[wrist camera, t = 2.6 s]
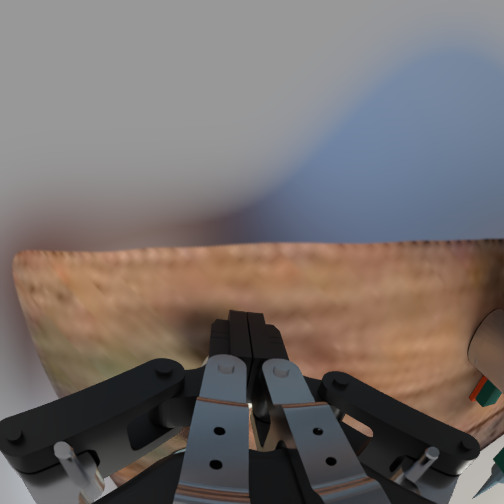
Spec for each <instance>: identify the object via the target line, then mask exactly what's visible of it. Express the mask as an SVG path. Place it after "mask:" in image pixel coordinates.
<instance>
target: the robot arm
mask: <svg viewBox="0 0 504 504" xmlns="http://www.w3.org/2000/svg"><path fill="white" fill-rule="evenodd" d="M468 360H469V361H470V363H471V364H473V365H474V366H475V367H476V368H477V369H478V370H479V371H480V372H481V373H482V374H483V375H484V376H485V377H486V378H487V379H488V380H490V381H491V382H492V383H493V384H494V385H495V386H496V387H497V388H498V389H499V390H500V391H501V392H502V393H503V394H504V310H502V309H496V310H494V311H493V312H491V313H490V314H489V315H488V316H487V317H486V318H485V319H484V321H483V322H482V323H481V325H480V326H479V328H478V329H477V331H476V333H475V335H474V337H473V339H472V341H471V344H470V347H469V351H468ZM247 403H251V404H252V411H251V415H250V420H251V425H252V429H253V434H254V438H255V443H256V447H257V451H256V450H251V449H249V405H248V404H247ZM345 414H347V415H349V416H351V417H353V418H354V419H356V420H358V421H359V422H361V423H363V424H365V425H366V426H368V427H370V428H371V429H372V431H373V437H368V436H366V435H364V434H362V433H361V432H359V431H357V430H356V429H354V428H352V427H351V426H349V425H347V424H346V423H344V422H342V420H343V418H344V416H345ZM185 426H191V427H190V431H189V436H188V441H187V445H186V450H185V451H184V452H179V453H175V454H172V455H169V456H167V457H164V458H162V459H161V460H159V461H157V462H156V463H154V464H153V465H151V466H150V467H148V468H147V469H146V470H144V471H143V472H141V473H140V474H138V475H137V476H135V477H134V478H132V479H131V480H129V481H128V482H126V483H124V484H123V485H121V486H120V487H118V488H117V489H115V490H113V491H112V492H110V493H108V494H107V495H105V496H104V497H102V498H100V499H98V500H97V501H95V502H94V500H96V499H97V498H98V497H99V496H101V494H102V493H103V491H104V487H105V483H104V478H106V477H108V476H110V475H111V474H113V473H115V472H117V471H119V470H120V469H122V468H124V467H126V466H127V465H129V464H131V463H132V462H134V461H136V460H137V459H139V458H141V457H142V456H144V455H146V454H147V453H149V452H150V451H152V450H154V449H155V448H157V447H158V446H160V445H161V444H163V443H165V442H166V441H168V440H169V439H171V438H172V437H174V436H175V435H177V434H178V433H179V432H181V430H182V429H183V427H185ZM0 451H1V452H2V453H3V455H4V456H5V458H6V459H7V460H8V462H9V464H10V465H11V467H12V468H13V469H14V470H15V471H16V473H17V474H18V475H19V476H20V477H21V478H22V480H23V482H24V483H25V485H26V487H27V489H28V490H29V492H30V494H31V495H32V497H33V499H34V500H35V502H36V503H37V504H448V503H449V501H450V498H451V496H452V493H453V491H454V488H455V485H456V483H457V480H458V477H459V476H460V475H461V474H462V473H463V472H464V470H466V469H467V468H468V467H469V466H470V465H471V463H472V462H473V461H474V460H475V459H476V458H477V457H478V456H479V454H480V445H479V443H478V441H477V440H476V439H475V438H474V437H473V436H471V435H469V434H467V433H465V432H462V431H460V430H458V429H456V428H454V427H451V426H449V425H447V424H445V423H443V422H440V421H438V420H436V419H434V418H432V417H430V416H428V415H426V414H424V413H422V412H419V411H417V410H415V409H413V408H411V407H409V406H407V405H405V404H403V403H401V402H399V401H397V400H396V399H394V398H392V397H390V396H388V395H386V394H384V393H382V392H380V391H378V390H376V389H375V388H373V387H371V386H369V385H367V384H365V383H363V382H362V381H360V380H358V379H356V378H354V377H352V376H351V375H349V374H346V373H344V372H339V371H332V372H328V373H326V374H325V375H324V376H323V378H322V380H318V379H314V378H309V377H306V376H303V375H302V373H301V371H300V369H299V367H298V366H297V365H295V364H294V363H293V362H290V361H289V358H288V355H287V352H286V349H285V346H284V343H283V340H282V337H281V334H280V331H279V330H278V329H277V328H276V327H275V326H274V325H269V324H265V320H264V316H263V313H253V312H243V311H234V310H229V316H228V320H220V319H217V320H216V321H215V322H214V323H213V324H212V327H211V336H210V345H209V355H208V361H207V363H206V364H205V365H204V366H202V367H200V368H197V369H192V370H184V368H183V366H182V365H181V364H180V363H178V362H176V361H174V360H171V359H166V358H158V359H153V360H151V361H148V362H146V363H144V364H142V365H140V366H137V367H135V368H133V369H131V370H128V371H126V372H124V373H122V374H119V375H117V376H115V377H112V378H110V379H108V380H105V381H103V382H101V383H98V384H96V385H93V386H91V387H88V388H86V389H84V390H81V391H79V392H76V393H74V394H71V395H68V396H66V397H63V398H61V399H58V400H55V401H53V402H50V403H48V404H45V405H42V406H40V407H37V408H34V409H31V410H28V411H25V412H22V413H20V414H17V415H14V416H11V417H8V418H5V419H3V420H1V421H0Z"/></svg>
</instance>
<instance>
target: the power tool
mask: <svg viewBox="0 0 504 504" xmlns="http://www.w3.org/2000/svg"><path fill="white" fill-rule="evenodd" d="M501 394H502V392H501V391H500V390H499V389H498V388H497V387H496V386H495V385H494V384H493V383H492V382H491V381H490V380H488V379H487V378H486V377H485V376H484V375H483V377H482V379H481V380H480V382H479V383H478V385H477V386H476V388H475V390H474V391H473V393H472V394H471V395H470V397H469V399H470V400H471V401H477V402H478V403H479V404H480V405H481V406H482V407H485V406H488V405H492V404H495V403H496V401H497V400H498V398H499V397H500V395H501ZM493 460H494V461H495V464H494V465H493V467H492V475H491V476H490V478H489V479H488V480H487V481H486V483H485V484H484V485H483V486H482V488H481V489H480V490H479V491H478V493H477V494H476V495H475V496H474V497H473V498H475V497H476V496H478V495H480V494H481V493H483V492H485V491H486V490H488V489H490V488H491V487H492V486H494V485H496V484H497V483H504V448H503V449H502V450H501V451H500V452H499V453H498V454H497V455H496V456H495V458H493Z"/></svg>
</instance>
